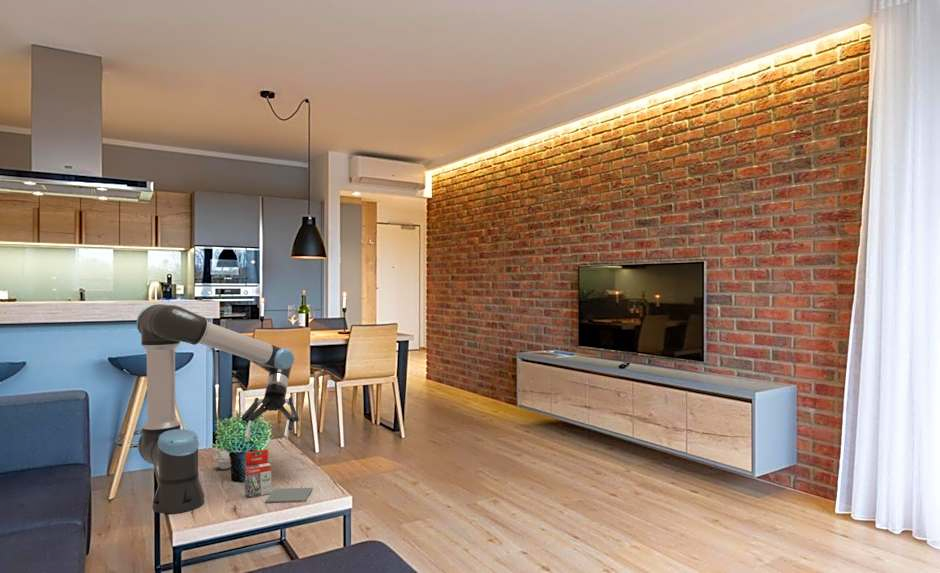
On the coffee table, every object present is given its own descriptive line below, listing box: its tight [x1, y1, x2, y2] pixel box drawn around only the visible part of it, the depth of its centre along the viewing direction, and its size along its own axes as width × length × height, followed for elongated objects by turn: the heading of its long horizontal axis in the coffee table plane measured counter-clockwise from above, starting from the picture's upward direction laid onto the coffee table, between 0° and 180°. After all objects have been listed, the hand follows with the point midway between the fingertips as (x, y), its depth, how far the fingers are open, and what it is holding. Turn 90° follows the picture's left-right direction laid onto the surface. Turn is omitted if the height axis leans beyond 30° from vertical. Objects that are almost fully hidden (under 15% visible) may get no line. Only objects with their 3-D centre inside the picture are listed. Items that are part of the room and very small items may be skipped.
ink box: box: [244, 448, 272, 499], centre depth 205 cm, size 4×8×15 cm, turn 123°
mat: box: [264, 487, 314, 504], centre depth 203 cm, size 13×12×1 cm
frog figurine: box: [214, 450, 231, 470], centre depth 234 cm, size 6×7×7 cm
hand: (266, 438), depth 216 cm, fingers open, 13 cm apart
